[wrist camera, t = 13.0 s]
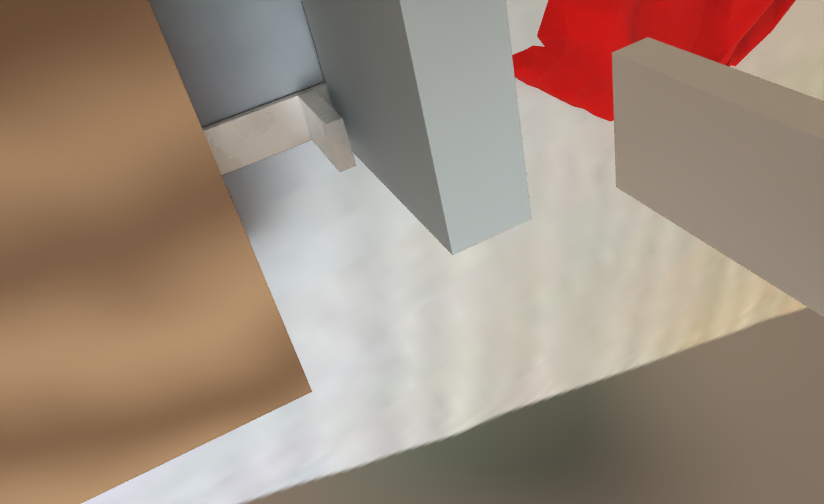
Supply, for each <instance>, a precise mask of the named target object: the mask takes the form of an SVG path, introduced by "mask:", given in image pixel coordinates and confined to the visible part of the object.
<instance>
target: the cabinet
mask: <svg viewBox="0 0 824 504" xmlns="http://www.w3.org/2000/svg"><path fill="white" fill-rule="evenodd" d="M310 392H312V390H311V388H310V385H309V383H308V381H307V378H306V376H305V373H304V371H303V369H302V366H301V364H300V361H299V359H298V357H297V354H296V352H295V350H294V347H293V345H292V342H291V340H290V338H289V335H288V333H287V330H286V328H285V326H284V323H283V321H282V318H281V316H280V314H279V311H278V309H277V306H276V304H275V302H274V299H273V297H272V295H271V292H270V290H269V287H268V285H267V283H266V280H265V278H264V275H263V273H262V271H261V268H260V266H259V263H258V261H257V259H256V256H255V254H254V252H253V249H252V247H251V244H250V242H249V240H248V237H247V235H246V232H245V230H244V228H243V225H242V223H241V220H240V218H239V216H238V213H237V211H236V208H235V206H234V204H233V201H232V199H231V197H230V194H229V192H228V189H227V187H226V185H225V182H224V180H223V177H222V175H221V173H220V170H219V168H218V165H217V163H216V161H215V158H214V156H213V153H212V151H211V149H210V146H209V144H208V142H207V139H206V137H205V134H204V132H203V130H202V127H201V125H200V122H199V120H198V118H197V115H196V113H195V110H194V108H193V106H192V103H191V101H190V98H189V96H188V94H187V91H186V89H185V87H184V84H183V82H182V79H181V77H180V75H179V72H178V70H177V67H176V65H175V63H174V60H173V58H172V55H171V53H170V51H169V48H168V46H167V44H166V41H165V39H164V36H163V34H162V32H161V29H160V27H159V24H158V22H157V20H156V17H155V15H154V12H153V10H152V8H151V5H150V3H149V0H0V504H81V503H83V502H85V501H87V500H89V499H91V498H93V497H95V496H98V495H100V494H102V493H104V492H106V491H108V490H110V489H112V488H114V487H116V486H118V485H120V484H122V483H124V482H126V481H129V480H131V479H133V478H135V477H137V476H139V475H141V474H143V473H145V472H147V471H149V470H151V469H153V468H155V467H157V466H160V465H162V464H164V463H166V462H168V461H170V460H172V459H174V458H176V457H178V456H180V455H182V454H184V453H186V452H188V451H191V450H193V449H195V448H197V447H199V446H201V445H203V444H205V443H207V442H209V441H211V440H213V439H215V438H217V437H219V436H222V435H224V434H226V433H228V432H230V431H232V430H234V429H236V428H238V427H240V426H242V425H244V424H246V423H248V422H250V421H253V420H255V419H257V418H259V417H261V416H263V415H265V414H267V413H269V412H271V411H273V410H275V409H277V408H279V407H281V406H284V405H286V404H288V403H290V402H292V401H294V400H296V399H298V398H300V397H302V396H304V395H306V394H308V393H310Z"/></svg>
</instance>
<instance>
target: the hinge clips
mask: <svg viewBox="0 0 824 504" xmlns="http://www.w3.org/2000/svg"><path fill="white" fill-rule="evenodd" d="M202 130H203V132H204V134H205V137H206V139H207V142H208V144H209V146H210V149H211V151H212V153H213V156H214V158H215V161H216V163H217V165H218V168H219V170H220V173H221V175H224V174H226V173H229V172H231V171H234V170H237V169H239V168H242V167H244V166H247V165H249V164H252V163H254V162H257V161H259V160H262V159H265V158H267V157H270V156H272V155H275V154H277V153H280V152H282V151H285V150H287V149H290V148H293V147H295V146H298V145H300V144H303V143H305V142H308V141H310V140H312V141H313V142H314V143H315V144H316V145H317V146H318V148H319V149H320V150H321V151H322V152H323V153H324V154H325V155H326V157H327V158H328V159H329V160H330V161H331V162H332V163H333V165H334V166H335V167H336V168H337V169H338V170H339V171H340V172H341V171H344V170H346V169H349V168H351V167H353V166H356V163H355V160H354V156H353V153H352V149H351V146H350V142H349V139H348V135H347V132H346V128H345V125H344V121H343V118H342V117H341V116H340V115H339V114H338V113H337V112H336V111H335V110H334V109H333V106H332V103H331V99H330V96H329V92H328V89H327V86H326V82H324V83H321V84H318V85H316V86H313V87H310V88H307V89H305V90H302V91H299V92H297V93H294V94H291V95H289V96H286V97H283V98H281V99H278V100H275V101H273V102H270V103H267V104H265V105H262V106H259V107H257V108H254V109H251V110H249V111H246V112H243V113H241V114H238V115H235V116H233V117H230V118H227V119H225V120H222V121H219V122H217V123H214V124H211V125H208V126H206V127H203V128H202Z"/></svg>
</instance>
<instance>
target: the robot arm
mask: <svg viewBox="0 0 824 504" xmlns="http://www.w3.org/2000/svg"><path fill="white" fill-rule="evenodd" d="M612 71H613V103H614V134H615V166H616V187H617V188H619V189H620V190H622V191H624V192H625V193H627V194H628V195H630V196H632V197H633V198H635V199H636V200H638V201H640V202H641V203H643V204H644V205H646V206H648V207H649V208H651V209H652V210H654V211H655V212H657V213H659V214H660V215H662V216H663V217H665V218H667V219H668V220H670V221H671V222H673V223H675V224H676V225H678V226H679V227H681V228H683V229H684V230H686V231H687V232H689V233H691V234H692V235H694V236H695V237H697V238H699V239H700V240H702V241H703V242H705V243H707V244H708V245H710V246H711V247H713V248H715V249H716V250H718V251H719V252H721V253H723V254H724V255H726V256H727V257H729V258H731V259H732V260H734V261H735V262H737V263H738V264H740V265H742V266H743V267H745V268H746V269H748V270H750V271H751V272H753V273H754V274H756V275H758V276H759V277H761V278H762V279H764V280H766V281H767V282H769V283H770V284H772V285H774V286H775V287H777V288H778V289H780V290H782V291H783V292H785V293H786V294H788V295H790V296H791V297H793V298H794V299H796V300H798V301H799V302H801V303H802V304H804V305H806V306H807V307H809V308H810V309H812V310H814V311H815V312H817V313H818V314H820V315H822V316H823V317H824V101H822V100H819V99H817V98H814V97H811V96H808V95H806V94H803V93H800V92H797V91H795V90H792V89H789V88H786V87H784V86H781V85H778V84H775V83H773V82H770V81H767V80H764V79H762V78H759V77H756V76H753V75H751V74H748V73H745V72H742V71H740V70H737V69H734V68H731V67H729V66H726V65H723V64H720V63H718V62H715V61H712V60H709V59H707V58H704V57H701V56H698V55H696V54H693V53H690V52H687V51H685V50H682V49H679V48H676V47H674V46H671V45H668V44H665V43H663V42H660V41H657V40H655V39H652V38H649V37H647V38H645V39H642V40H640V41H638V42H635V43H633V44H631V45H628V46H626V47H624V48H621V49H619V50H617V51H615V52H612Z"/></svg>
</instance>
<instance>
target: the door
mask: <svg viewBox="0 0 824 504" xmlns="http://www.w3.org/2000/svg"><path fill="white" fill-rule="evenodd" d="M302 3H303V6H304V10H305V13H306V17H307V20H308V23H309V27H310V30H311V34H312V37H313V41H314V44H315V48H316V51H317V55H318V58H319V61H320V65H321V68H322V72H323V75H324V79H325V82H326V86H327V89H328V92H329V96H330V99H331V103H332V106H333V109H334V110H335V111H336V112H337V113H338V114H339V115H340V116H341V117H342V118H343V121H344V125H345V128H346V132H347V135H348V139H349V142H350V146H351V149H352V152H353V153H354V154H355V155H356V156H357V157H358V158H359V159H360V160H361V161H362V162H363V163H364V164H365V165H366V166H367V167H368V168H369V169H370V170H371V171H372V172H373V173H374V174H375V175H376V176H377V178H378V179H379V180H380V181H381V182H382V183H383V184H384V185H385V186H386V187H387V188H388V189H389V190H390V191H391V192H392V193H393V194H394V195H395V196H396V197H397V198H398V199H399V200H400V201H401V202H402V203H403V204H404V205H405V206H406V207H407V208H408V210H409V211H410V212H411V213H412V214H413V215H414V216H415V217H416V218H417V219H418V220H419V221H420V222H421V223H422V224H423V225H424V226H425V227H426V228H427V229H428V230H429V231H430V232H431V233H432V234H433V235H434V236H435V237H436V238H437V239H438V240H439V242H440V243H441V244H442V245H443V246H444V247H445V248H446V249H447V250H448V251H449V252H450V253H451V254H452V255H454V254H456V253H458V252H461V251H463V250H465V249H467V248H469V247H471V246H474V245H476V244H478V243H480V242H482V241H485V240H487V239H489V238H491V237H493V236H495V235H498V234H500V233H502V232H504V231H506V230H509V229H511V228H513V227H515V226H517V225H519V224H522V223H524V222H526V221H528V220H530V219H532V218H531V209H530V201H529V193H528V184H527V176H526V168H525V159H524V151H523V142H522V134H521V126H520V117H519V109H518V101H517V92H516V84H515V76H514V67H513V59H512V51H511V42H510V34H509V26H508V17H507V9H506V1H505V0H302Z"/></svg>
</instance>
